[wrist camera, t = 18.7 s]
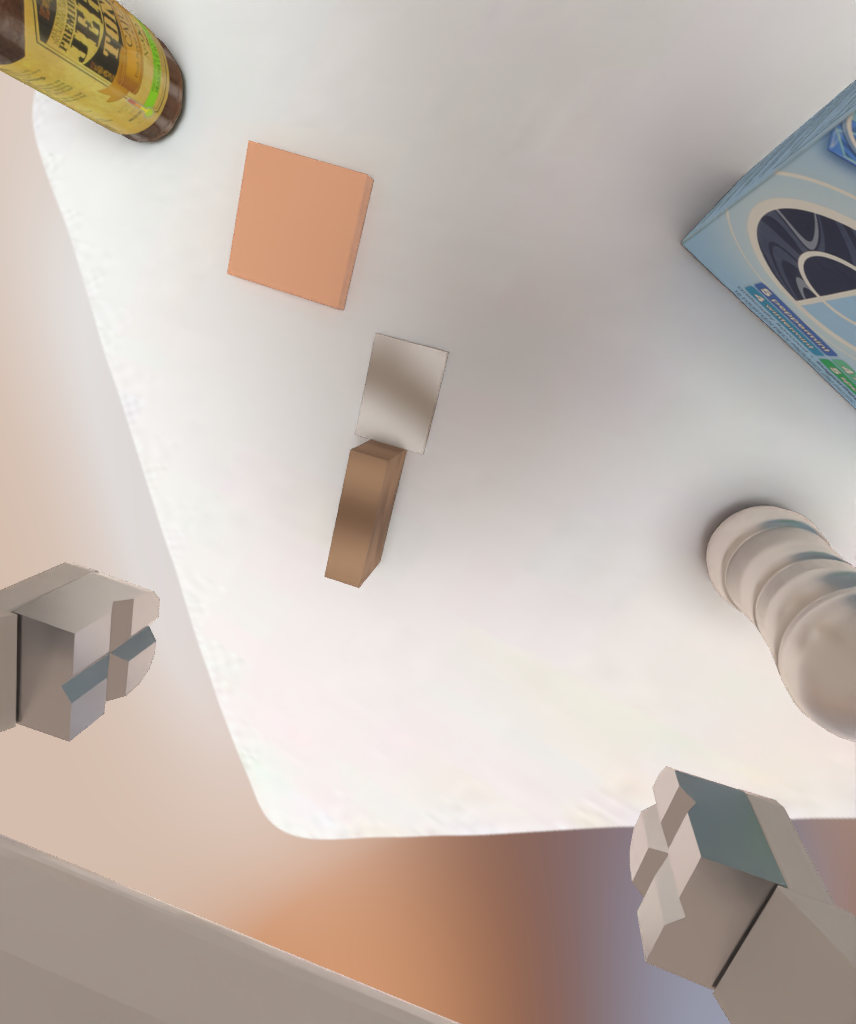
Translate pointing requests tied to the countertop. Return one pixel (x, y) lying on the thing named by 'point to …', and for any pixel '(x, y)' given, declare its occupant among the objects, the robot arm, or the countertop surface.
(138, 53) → the sauce bottle
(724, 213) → the gum box
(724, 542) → the plastic bottle
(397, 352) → the turner
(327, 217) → the tile
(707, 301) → the countertop surface
